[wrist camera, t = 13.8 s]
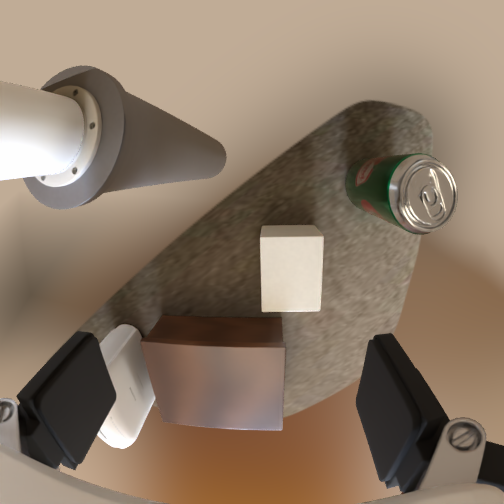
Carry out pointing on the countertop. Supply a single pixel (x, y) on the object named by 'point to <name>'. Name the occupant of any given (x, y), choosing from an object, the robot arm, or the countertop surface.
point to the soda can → (404, 191)
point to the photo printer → (126, 386)
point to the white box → (291, 268)
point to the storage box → (218, 371)
